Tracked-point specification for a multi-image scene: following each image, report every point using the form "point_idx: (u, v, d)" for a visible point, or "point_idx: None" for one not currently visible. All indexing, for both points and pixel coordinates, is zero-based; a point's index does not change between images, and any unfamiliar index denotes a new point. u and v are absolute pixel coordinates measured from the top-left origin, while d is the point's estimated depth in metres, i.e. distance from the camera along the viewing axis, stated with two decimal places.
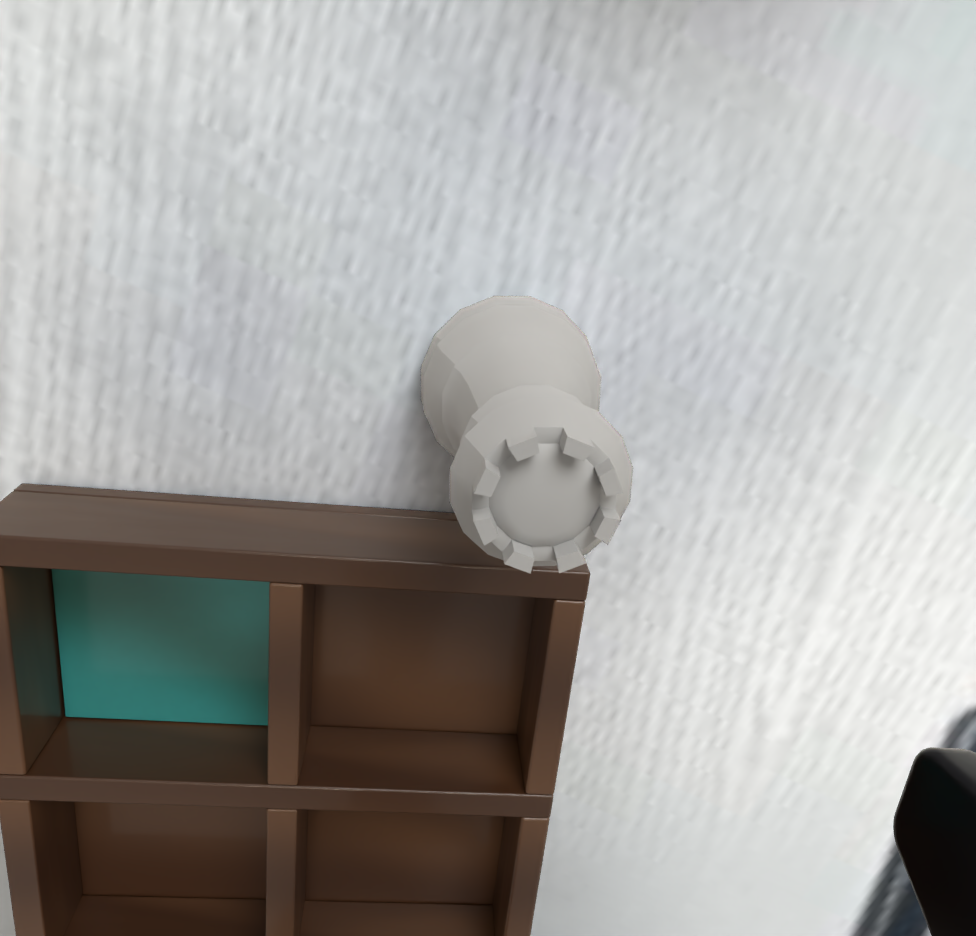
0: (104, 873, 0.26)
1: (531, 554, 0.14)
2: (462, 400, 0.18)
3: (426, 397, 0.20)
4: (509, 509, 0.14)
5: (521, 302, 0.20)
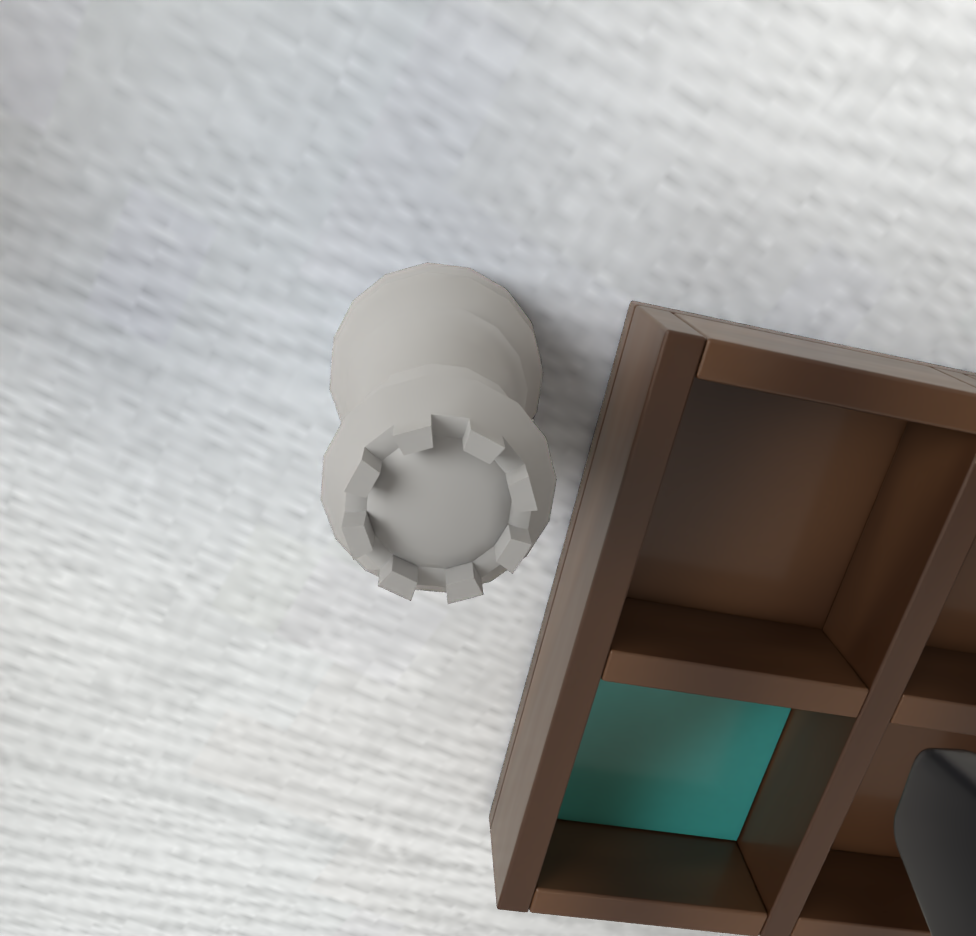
0: None
1: (508, 536, 0.11)
2: None
3: None
4: (447, 551, 0.11)
5: None
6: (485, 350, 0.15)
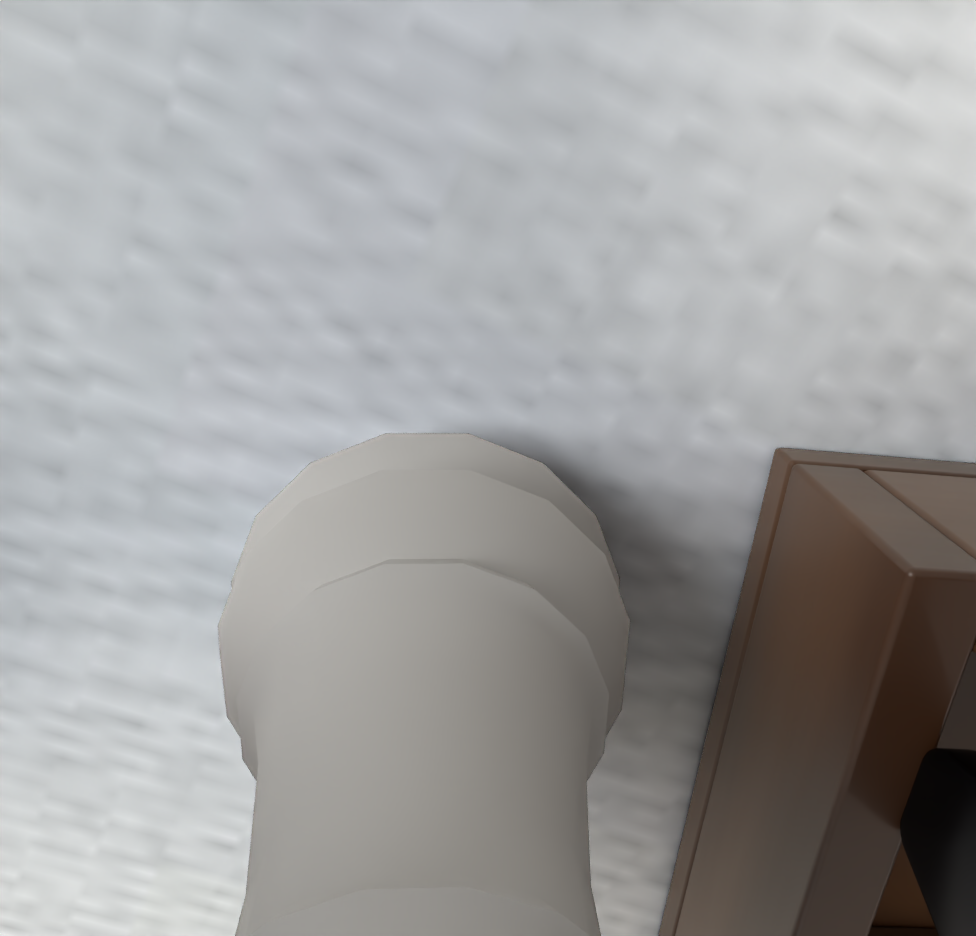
0: None
1: None
2: None
3: None
4: None
5: None
6: (514, 667, 0.07)
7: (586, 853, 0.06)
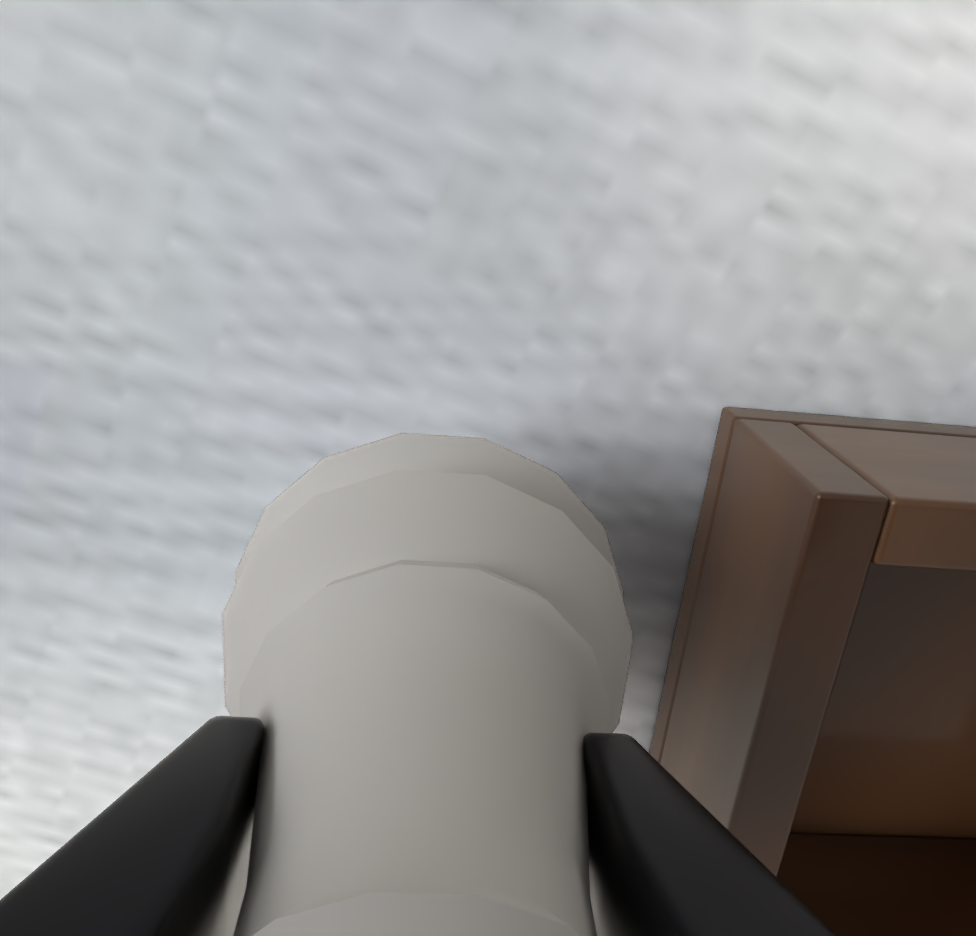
0: None
1: None
2: None
3: None
4: None
5: None
6: (523, 675, 0.07)
7: (586, 865, 0.06)
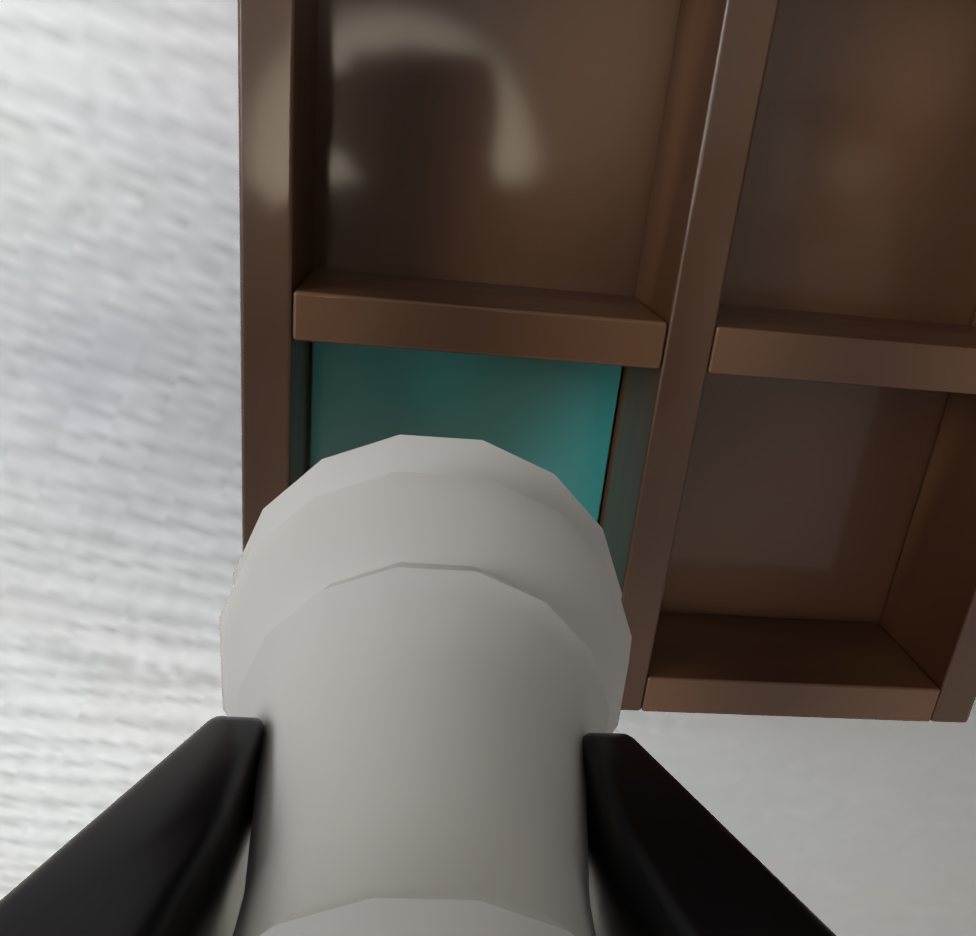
0: (849, 594, 0.19)
1: None
2: None
3: None
4: None
5: None
6: (521, 680, 0.07)
7: (586, 869, 0.06)
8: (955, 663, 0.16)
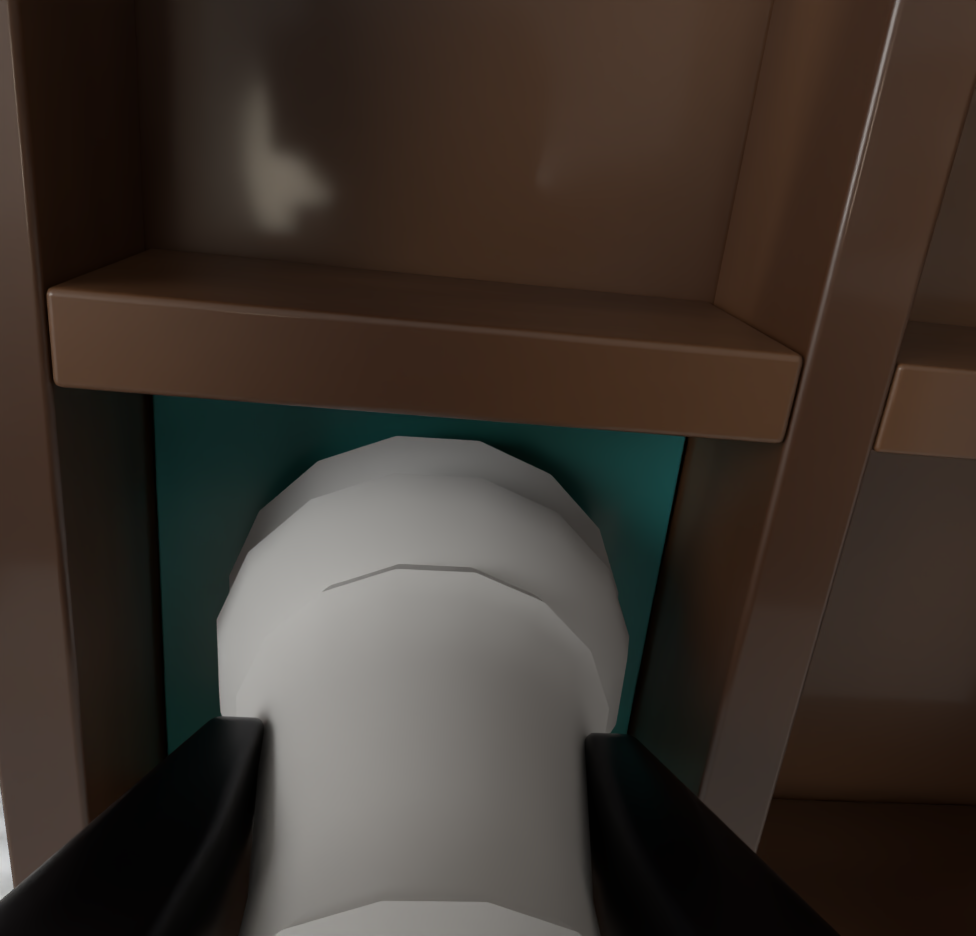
0: None
1: None
2: None
3: None
4: None
5: None
6: (523, 681, 0.07)
7: (589, 869, 0.06)
8: None
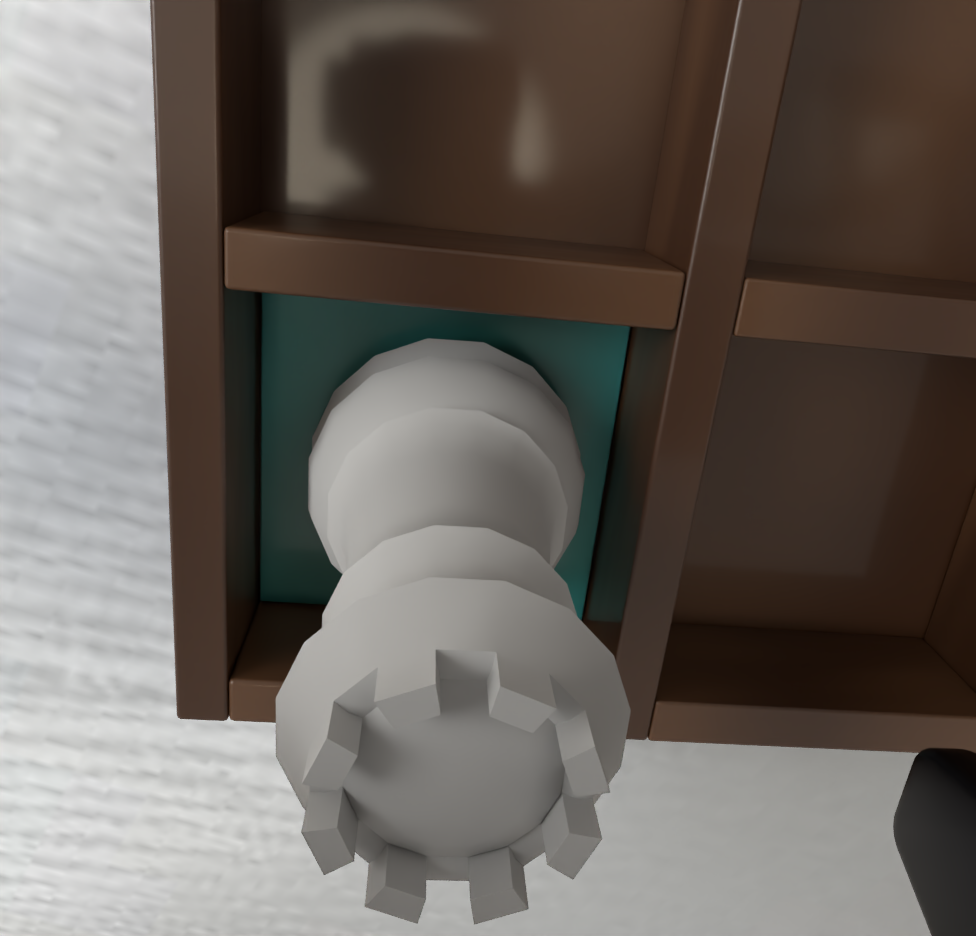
0: (890, 604, 0.16)
1: (564, 824, 0.07)
2: None
3: None
4: (471, 840, 0.07)
5: None
6: (510, 469, 0.11)
7: None
8: None
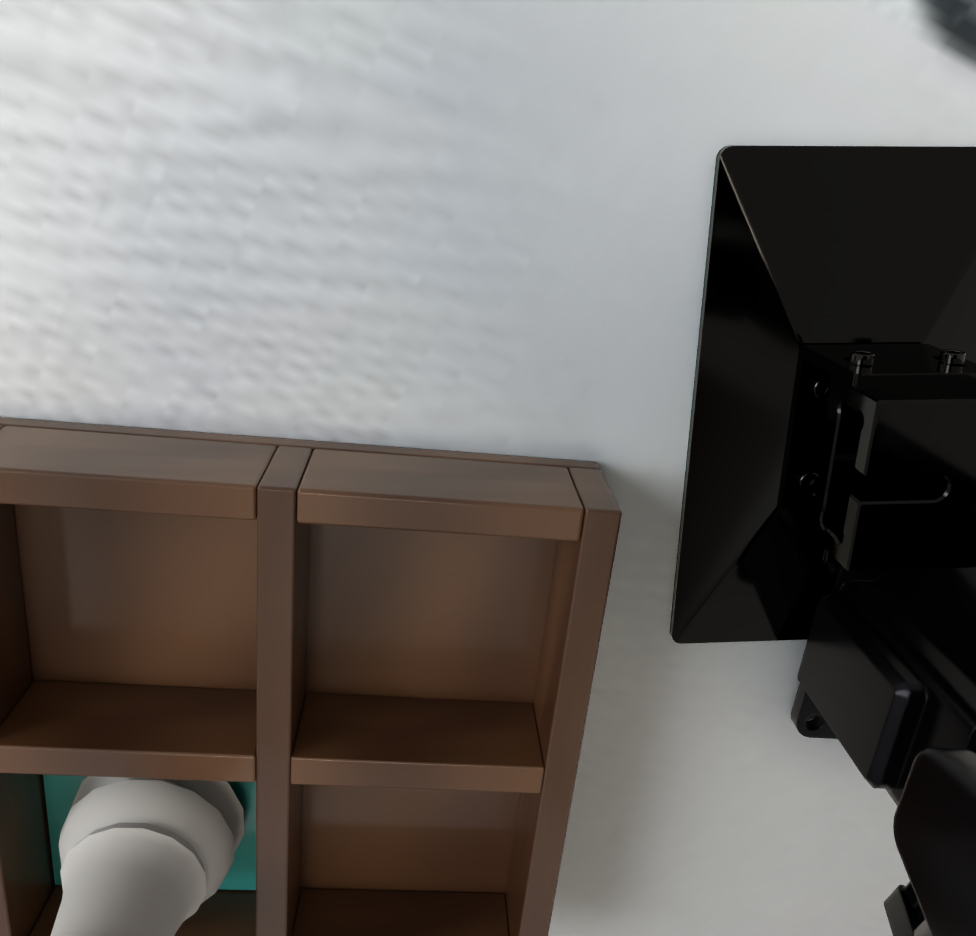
0: (478, 874, 0.24)
1: None
2: None
3: None
4: None
5: None
6: (152, 872, 0.19)
7: None
8: None
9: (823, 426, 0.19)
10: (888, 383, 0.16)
